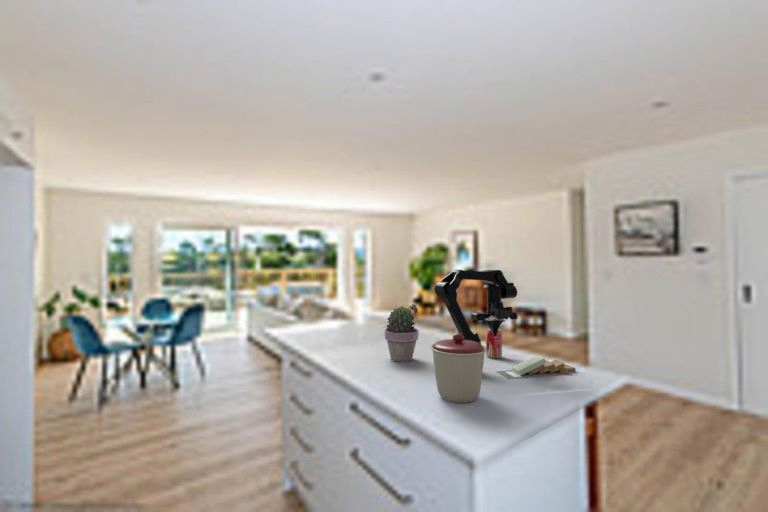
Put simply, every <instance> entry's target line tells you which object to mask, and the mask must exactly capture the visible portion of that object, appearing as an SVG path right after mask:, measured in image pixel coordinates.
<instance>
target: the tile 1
mask: <svg viewBox="0 0 768 512" xmlns="http://www.w3.org/2000/svg"><path fill="white" fill-rule="evenodd" d="M545 360H546V358H544V357H542V356H539V355H538V354H537V355H534V356H532V357H530V358H528V359H526V360H524V361H522V362H520V363H518V364H515V365H513V366H512V367H511V369H512V370H513V372H515V373H516V374H518V375H520V376H521V375H523V374H525V373H527V372H529V371H531V370H533V369H535V368H537V367H539V366H541V365H543V364H545V363H546V361H545Z"/></svg>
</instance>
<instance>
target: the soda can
mask: <svg viewBox="0 0 768 512" xmlns="http://www.w3.org/2000/svg"><path fill="white" fill-rule="evenodd" d="M501 330H502V329H500V328H499V329H498V332H497V334H496V336H493V335H492V332H491V330H490V328H489V327H487V328H486V331H485V347H486V349H487V351H486V352H485V356H486V357H487V358H489V359H494V358H497V359H501V357H502V356H503V345H502V344H503V343H502V342H503V339H502V338H503V336H502V334H503V333H502V331H501Z"/></svg>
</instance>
